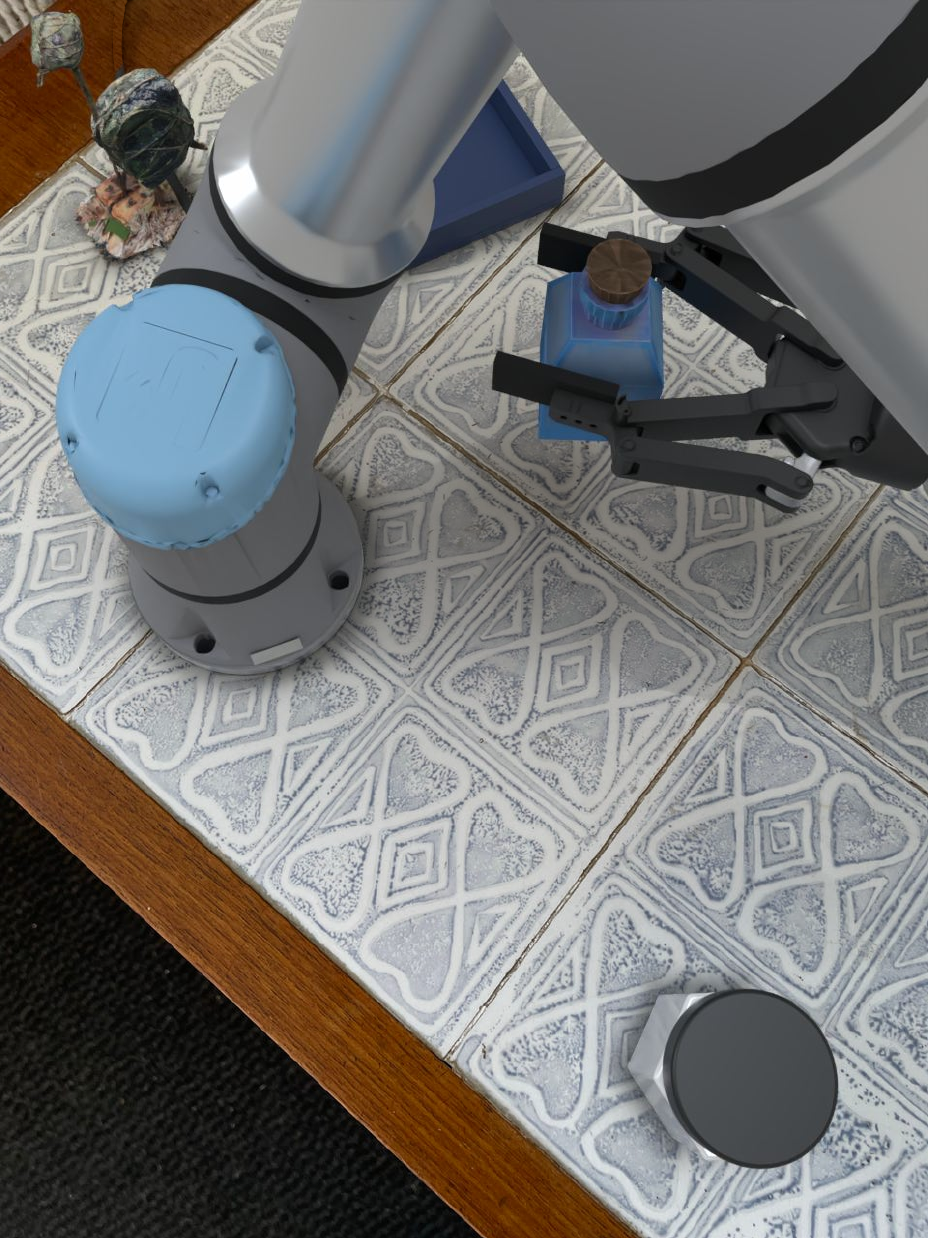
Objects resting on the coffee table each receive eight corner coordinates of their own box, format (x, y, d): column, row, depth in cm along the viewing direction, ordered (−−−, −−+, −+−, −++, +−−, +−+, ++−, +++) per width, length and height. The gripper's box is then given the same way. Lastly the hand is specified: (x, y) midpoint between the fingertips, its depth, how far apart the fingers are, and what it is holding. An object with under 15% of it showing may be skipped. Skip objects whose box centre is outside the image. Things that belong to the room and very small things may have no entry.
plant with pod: (241, 220, 84) (177, -6, 65) (98, 276, 82) (-9, 61, 63) (200, 141, 86) (128, -100, 67) (61, 194, 85) (-54, -37, 66)
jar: (739, 1175, 63) (800, 1213, 52) (608, 1103, 65) (640, 1125, 53) (798, 1025, 66) (869, 1031, 55) (671, 958, 67) (714, 950, 56)
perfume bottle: (644, 349, 66) (681, 214, 55) (645, 442, 64) (684, 323, 53) (539, 345, 67) (555, 210, 55) (537, 438, 65) (554, 318, 53)
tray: (323, 140, 86) (318, 107, 83) (479, 76, 88) (480, 42, 85) (400, 273, 83) (398, 244, 79) (562, 203, 85) (566, 173, 82)
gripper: (878, 627, 58) (458, 501, 60) (948, 304, 64) (565, 201, 66) (936, 574, 51) (457, 435, 53) (1009, 217, 57) (578, 106, 59)
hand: (518, 305), depth 60 cm, fingers closed on perfume bottle, 8 cm apart
